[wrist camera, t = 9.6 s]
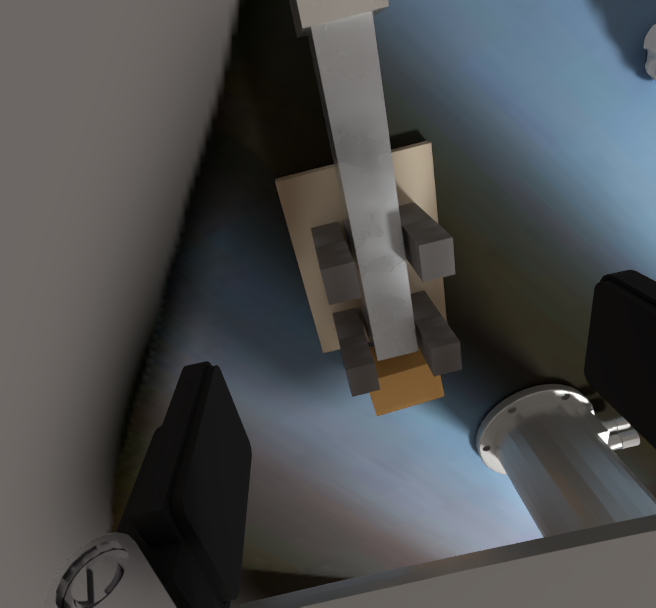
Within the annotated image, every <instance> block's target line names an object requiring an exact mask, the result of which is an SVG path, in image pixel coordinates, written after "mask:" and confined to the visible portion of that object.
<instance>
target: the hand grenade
mask: <svg viewBox="0 0 656 608" xmlns="http://www.w3.org/2000/svg"><path fill="white" fill-rule="evenodd" d="M644 49H647V52H648V55H647V62H646V64H645V69H646V72H647V73H648V74H649V75H650V76H651V77H652V78H653V79H655V80H656V24H654V25H653V26H652V27H651V29H650V30H649V32H648V33H647V35H646V37H645V40H644Z"/></svg>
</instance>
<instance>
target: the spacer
mask: <svg viewBox="0 0 656 608" xmlns="http://www.w3.org/2000/svg"><path fill="white" fill-rule="evenodd" d="M417 346H418V345H417ZM370 350H371V353H372V356H373V359H374V362H375V366H376V371H377V376H378V381H379V386H380V390H377V391H373V392H369V393H370V396H371V399H372V402H373V405H374V409H375V412H376V415H377V416H380V415H383V414H387V413H390V412H393V411H397V410H400V409H403V408H407V407H410V406H414V405H417V404H420V403H424V402H427V401H430V400H434V399H437V398H441V397H444V391H443V386H442V381H441V376H440V375H438V376H433V374H432V372H431V370H430V368H429V366H428V364H427V363H426V361H425V359H424V357H423V355H422V353H421V351H420V349H419V347H418V351H417V352H413V353H409V354H405V355H401V356H396V357H392V358H388V359H384V360H380V361H378V360H377V357H376V355H375V352H374V349H373V346H371V347H370Z"/></svg>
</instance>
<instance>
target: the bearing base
mask: <svg viewBox="0 0 656 608" xmlns="http://www.w3.org/2000/svg"><path fill="white" fill-rule="evenodd" d="M391 154H392V162H393V169H394V176H395V184H396V191H397V199H398V206H399V213H400V221H401V228H402V235H403V243H404V250H405V257H406V265H407V272H408V280H409V287H410V294H411V302H412V309H413V316H414V324H415V331H416V339H417V345H418V347H419V349H420V351H421V353H422V355H423V357H424V359H425V361H426V363H427V364H428V366H429V368H430V370H431V372H432V374H433V376H438V375H443V374H447V373H451V372H455V371H459V370H462V361H461V347H460V341H459V340H458V338H457V337H456V335H455V334H454V332H453V331H452V329H451V328H450V327H449V325H448V324H447V318H446V307H445V295H444V284H443V277H446V276H450V275H454V274H455V262H454V248H453V237H452V236H451V235H450V234H449V233H448V232H446V231H445V230H444V229H443V228H442V227H441V226H440V225H439V224H438V216H437V205H436V193H435V182H434V170H433V159H432V148H431V143H430V142H428V141H424V142H420V143H416V144H412V145H408V146H404V147H400V148H396V149H392V150H391ZM275 184H276V187H277V191H278V195H279V198H280V202H281V205H282V209H283V212H284V216H285V219H286V223H287V226H288V230H289V234H290V237H291V241H292V244H293V248H294V251H295V255H296V258H297V262H298V266H299V269H300V273H301V276H302V280H303V283H304V287H305V290H306V294H307V298H308V301H309V305H310V308H311V312H312V315H313V319H314V322H315V326H316V329H317V333H318V337H319V340H320V344H321V347H322V351H323V353H327V352H331V351H335V350H339V349H341V353H342V357H343V361H344V366H345V370H346V374H347V378H348V382H349V386H350V390H351V394H352V397H353V396H357V395H361V394H365V393H369V392H373V391H377V390H380V386H379V381H378V376H377V371H376V366H375V362H374V359H373V356H372V353H371V350H370V347H369V344H368V342H370V344H372V343H371V341H370V337H369V333H368V328H367V323H366V318H365V313H364V308H363V303H362V299H361V293H360V288H359V283H358V278H357V274H356V269H355V264H354V260H353V255H352V250H351V245H350V240H349V235H348V230H347V226H346V221H345V216H344V211H343V206H342V201H341V196H340V192H339V187H338V182H337V177H336V172H335V167H334V164H332V165H328V166H324V167H320V168H316V169H312V170H308V171H305V172H301V173H297V174H293V175H289V176H285V177H281V178H277V179H275Z"/></svg>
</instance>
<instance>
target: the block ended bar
mask: <svg viewBox="0 0 656 608" xmlns="http://www.w3.org/2000/svg"><path fill="white" fill-rule="evenodd" d="M289 3H290V8H291V12H292V17H293V22H294V26H295V31H296V35H297V38H299V37H303V36H308V41H309V46H310V51H311V55H312V60H313V65H314V70H315V75H316V80H317V85H318V89H319V94H320V99H321V104H322V109H323V114H324V119H325V123H326V128H327V133H328V138H329V143H330V148H331V153H332V158H333V162H334V167H335V172H336V177H337V182H338V187H339V192H340V196H341V201H342V206H343V211H344V216H345V221H346V226H347V230H348V235H349V240H350V245H351V250H352V255H353V260H354V264H355V269H356V274H357V278H358V283H359V288H360V293H361V299H362V303H363V308H364V313H365V318H366V323H367V328H368V333H369V337H370V341H371V343H372V346H373V349H374V352H375V355H376V357H377V360H378V361H380V360H384V359H388V358H392V357H396V356H401V355H405V354H409V353H413V352H417V351H418V346H417V339H416V331H415V324H414V316H413V309H412V302H411V294H410V287H409V280H408V272H407V265H406V257H405V250H404V243H403V235H402V228H401V221H400V213H399V206H398V199H397V191H396V184H395V176H394V169H393V162H392V154H391V147H390V140H389V132H388V125H387V117H386V110H385V103H384V95H383V88H382V81H381V73H380V66H379V58H378V51H377V44H376V36H375V29H374V22H373V16H374V15H375V14H377V13H379V12H380V11H382V10H383V9H385V8H387V7H388V6H389V4H388V0H289Z"/></svg>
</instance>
